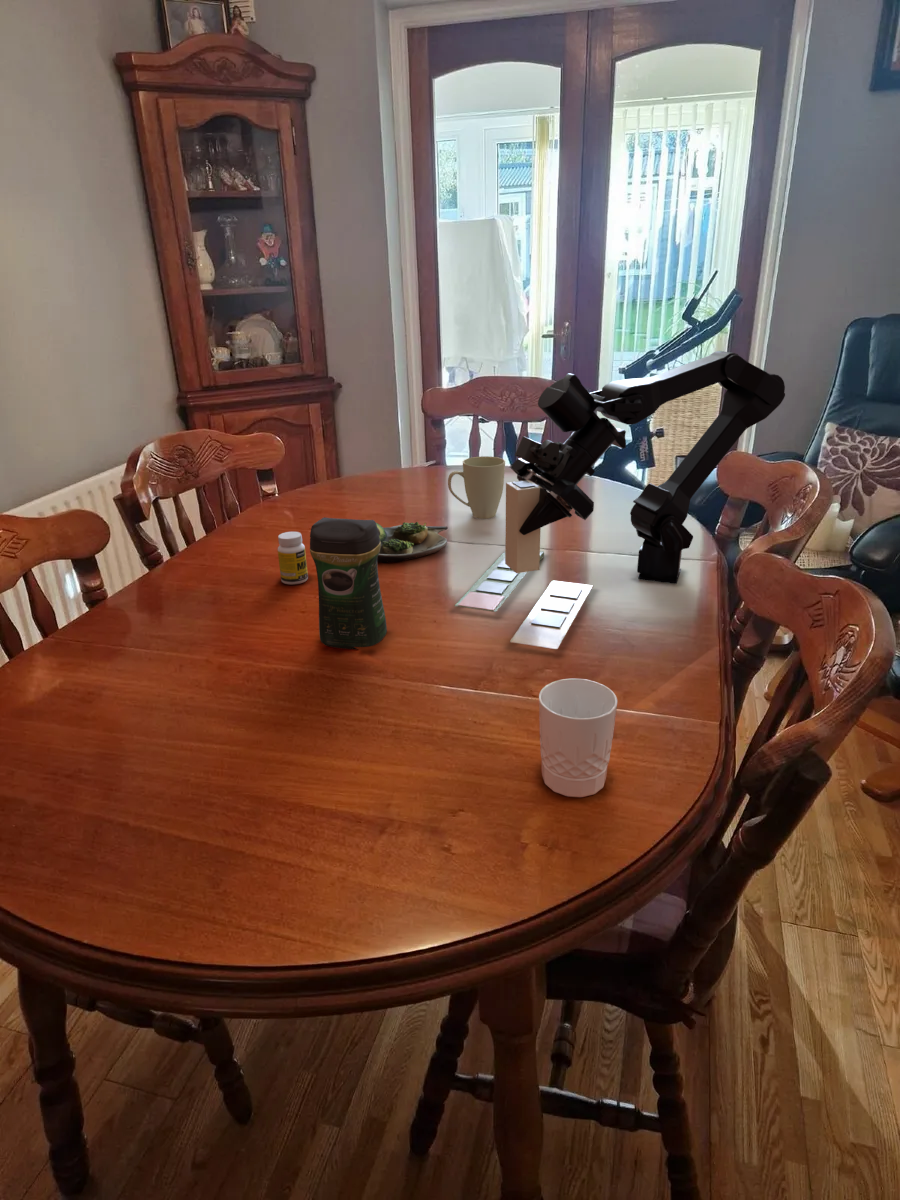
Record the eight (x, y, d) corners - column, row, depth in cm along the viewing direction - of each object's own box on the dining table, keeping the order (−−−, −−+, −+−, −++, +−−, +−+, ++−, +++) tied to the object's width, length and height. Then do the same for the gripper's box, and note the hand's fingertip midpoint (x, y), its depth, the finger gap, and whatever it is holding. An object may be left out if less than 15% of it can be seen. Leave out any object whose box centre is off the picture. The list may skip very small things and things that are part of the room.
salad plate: (430, 524, 159) (430, 503, 158) (470, 550, 145) (469, 527, 143) (343, 540, 152) (342, 518, 150) (375, 568, 137) (374, 544, 135)
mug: (475, 506, 170) (474, 454, 165) (512, 513, 165) (513, 459, 160) (446, 519, 162) (445, 464, 157) (485, 527, 157) (484, 470, 152)
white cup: (530, 758, 84) (532, 680, 80) (600, 753, 84) (605, 675, 80) (544, 804, 77) (547, 721, 73) (620, 798, 77) (627, 716, 73)
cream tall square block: (527, 560, 123) (529, 478, 118) (539, 569, 119) (541, 486, 114) (505, 563, 122) (505, 481, 116) (516, 573, 118) (517, 489, 112)
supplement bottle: (302, 586, 131) (297, 540, 127) (276, 584, 131) (271, 539, 128) (312, 575, 135) (307, 531, 131) (287, 574, 136) (282, 530, 132)
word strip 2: (552, 585, 128) (552, 579, 128) (593, 590, 126) (593, 584, 125) (509, 648, 108) (509, 640, 107) (557, 655, 105) (557, 648, 105)
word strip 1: (508, 552, 143) (508, 546, 143) (543, 556, 141) (544, 550, 140) (454, 611, 120) (454, 604, 119) (496, 617, 117) (496, 610, 117)
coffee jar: (393, 630, 114) (386, 513, 106) (375, 655, 107) (366, 531, 99) (333, 625, 116) (322, 509, 109) (312, 648, 109) (299, 526, 102)
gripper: (522, 407, 120) (459, 482, 122) (579, 428, 104) (505, 515, 105) (564, 451, 126) (503, 522, 127) (624, 478, 110) (553, 559, 111)
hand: (514, 528), depth 118 cm, fingers closed on cream tall square block, 4 cm apart
